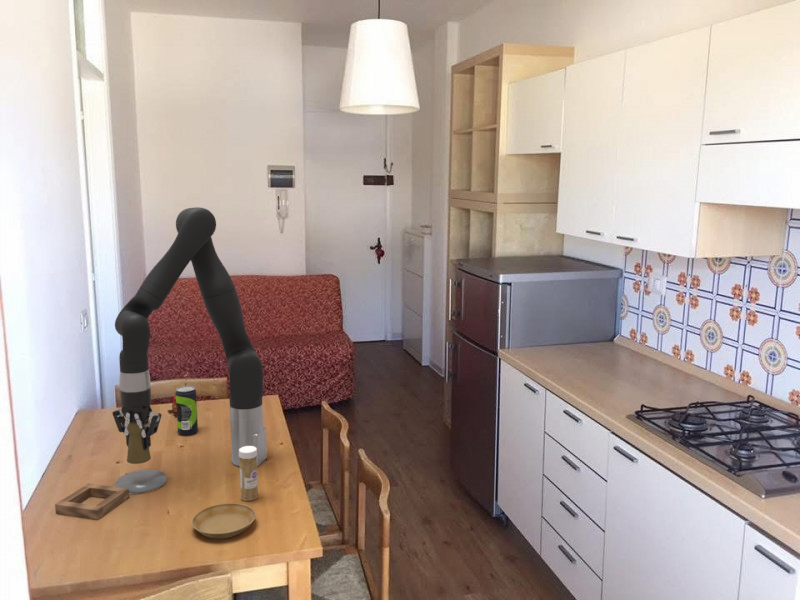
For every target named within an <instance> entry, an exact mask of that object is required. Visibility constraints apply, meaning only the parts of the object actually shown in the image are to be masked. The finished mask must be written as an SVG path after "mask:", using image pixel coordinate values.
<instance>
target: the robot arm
mask: <svg viewBox="0 0 800 600" xmlns="http://www.w3.org/2000/svg"><path fill="white" fill-rule="evenodd" d="M175 229H176V232H177V235H176V238H175V239H174V240H173V242H172V244H171V246H170V247H169V248H168V249H167V251H166V253H165V254H164V255H163V256H162V257H161V258H160V260H159V261H158V262H157V263H156V264H155V265H154V266H153V267H152V269H151V270H150V272H149V273H148V274H147V275H146V278H145V279H144V280H143V282H142V284H141V285H140V287H139V288H138V290H137V292H136V293H135V295H133V297H131V299H130V300H129V301H128V302H127V303H126V304H124V307H123V308H122V309H121V310H120V311H119V313H118V314H117V316H116V318H115V321H114V328H115V331H116V332H117V334H118V335H120V336H121V339H122V349H121V350H120V352H119V356H118V357H119V359H118V362H119V391H120V392H119V394H120V405H121V408H118V409H115V410H114V411H113V412H111V413H112V416H113V419H114V421H115V424H116V427H117V430H118V432H119V433H123V434H124V435H125V440H126V441H125V444H126V446H127V447H128V444H129V434H130V433H129V432H128V430H127V425H128V424H129V423H130V422H137V425H138V426H139V428H140V429H142V433H141V434H142V444H143V450H147V449H148V448H149V449H150V447H151V444H152V443H151V436H153V435H155V434H156V433H157V432H158V430H159V426H160V422H161V418H162V413H160V412H158V413H156V412H154V411H153V409H152V406H151V403H152V392H151V391H152V387H151V386H152V385H151V376H150V375H151V374H150V369H149V356H148V355H149V354H148V352H149V347H150V346H149V345H150V339H151V327H150V323H149V321H148V318H149V317H150V315H151V314H152V313H153V312H154V311H157V310H159V309H160V308H161V307H162V305H163V304H164V302H165V300H166V299H167V297H168V296H169V294H170V293H171V291H172V289H173V288H174V286H175V284H176V282H177V281H178V280H179V278H180V276H181V275H182V274H183V272H184V270H185V269H186V267H187V266H188V265H189V263H190V262H191V265H192V269H193V272H194V276H195V278H196V281H197V285H198V288H199V290H200V291H199V292H200V294H201V297H202V301H203V303H204V306H205V308H206V312H207V313H208V316H209V318H210V320H211V321H212V323H213V325H214V328H215V329H216V331H217V333H218V335H219V337H220V340H221V342H222V345H223V346H222V347H223V350H224V354H225V359H226V364H227V369H228V372H229V373H228V374H229V393H230V394H229V421H230V422H229V423H230V446H231V447H230V448H231V449H230V450H231V462H232V464H233V465H234V466H237V467H240V458H239V449H240V448H242V447H244V446H254V447H256V448H257V457H256V460H257V467H258V466H260V465H261V464H262V463H263V462H264V461H265V460H267V458H268V454H267V453H268V450H267V428H266V427H265V426H264V415H263V412H264V411H263V396H264V367H263V363H262V361H261V359H260V357H259V354H258V353H257V352H256V350H255V348H254V346H253V344H252V342H251V340H250V338H249V336H248V333H247V330H246V327H245V321H244V316H243V310H242V306H241V301H240V298H239V295H238V293H237V289H236V286H235V284H234V282H233V279H232V277H231V275H230V273H229V272H228V271H227V269H226V267H225V265H224V264H223V262H222V261H221V259H220V258H219V256H218V253H217V251H216V248H215V245H214V242H213V237H212V236H214V233H215V232H216V229H217V220H216V217H215V215H214V214H213V213H212V211H210V210H209V209H207V208H205V207H199V206H198V207H195V206H194V207H189V208H185V209H183V210H182V211H180V212H179V214H178V215H177V217H176V220H175ZM145 422H147V424H146V425H143V423H145ZM146 427H147V431H146V430H145V428H146Z"/></svg>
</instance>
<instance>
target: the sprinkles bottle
mask: <svg viewBox="0 0 800 600" xmlns="http://www.w3.org/2000/svg"><path fill="white" fill-rule="evenodd" d="M256 457H257V448H256V447H254V446H244V447H242V448H240V449H239V458H240V466H239V483H240V484H239V485H240V486H239V487H240V499H241V500H242V501H244V502H250V501H251V502H252V501H254V500H256V499H258V498H259V493H258V485H259V484H258V466H257V460H256Z"/></svg>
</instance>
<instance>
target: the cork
mask: <svg viewBox="0 0 800 600" xmlns="http://www.w3.org/2000/svg"><path fill="white" fill-rule="evenodd" d="M146 424H147V422H145V423H143V425H146ZM127 430H128V432H129V433H130V434H129V444H128V446H127V456H126V457H127V458H126V462H127V463H129V464H132V465H139V464H145V463H147V462H149V461H150V460H151V457H152V456H151V452H150V447H149V448H148V449H147V450H143V444H142V434H141V433H142V429H140V428H139V426H138V425H137V422H130V423H129V424H128V425H127ZM145 430H146V431H147V427H146V428H145Z"/></svg>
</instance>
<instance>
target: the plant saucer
mask: <svg viewBox="0 0 800 600" xmlns="http://www.w3.org/2000/svg"><path fill="white" fill-rule="evenodd" d="M256 515H257V514H256V511H255V510H254V509H253V507H251V506H249V505H247V504H243V503H236V502H230V503H229V502H226V503H219V504H214V505H212V506H211V505H210V506H208V507H206V508H203V509H201V510H200V511H198V512H197V513H196V514H195V515H193V516H192V519H191V527H192V528H194V530H195V531H196V532H198V533H199V534H201V535H203V536H204V537H206V538H210V539H216V540H217V539H218V540H219V539H228V538H229V539H230V538H232V537H235V536H237V535H240V534H242V533H243V532H244V531H245V530H247V529H248V528H249V527H250V526H251V525H252V523H253V522H254V520H255V518H256V517H257V516H256Z"/></svg>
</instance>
